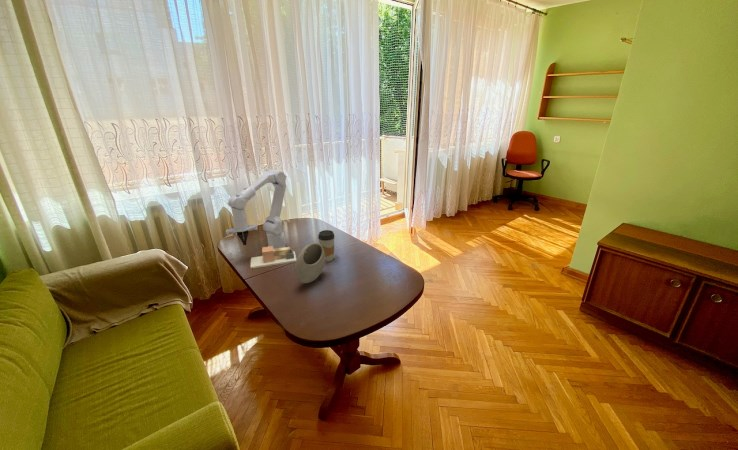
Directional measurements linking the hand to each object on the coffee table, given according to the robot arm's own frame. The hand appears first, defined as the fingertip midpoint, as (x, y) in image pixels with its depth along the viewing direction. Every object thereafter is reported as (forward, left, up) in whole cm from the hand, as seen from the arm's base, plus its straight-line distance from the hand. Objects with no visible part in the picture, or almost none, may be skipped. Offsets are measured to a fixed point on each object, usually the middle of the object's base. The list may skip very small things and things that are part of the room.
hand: (244, 244), depth 152 cm
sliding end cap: (-11, +5, -8) cm, 14 cm away
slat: (-16, +5, -8) cm, 18 cm away
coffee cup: (-40, +12, -10) cm, 43 cm away
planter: (-30, +29, -10) cm, 43 cm away
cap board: (-13, +4, -9) cm, 17 cm away
